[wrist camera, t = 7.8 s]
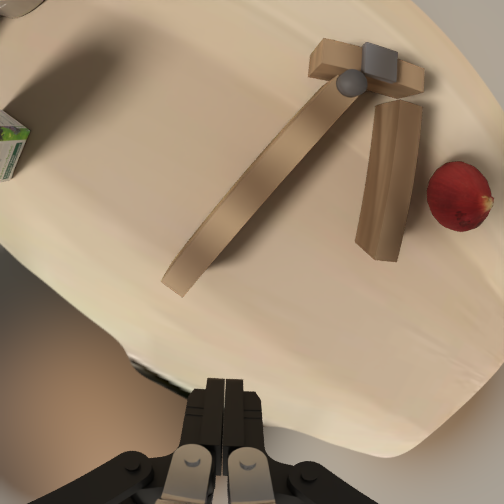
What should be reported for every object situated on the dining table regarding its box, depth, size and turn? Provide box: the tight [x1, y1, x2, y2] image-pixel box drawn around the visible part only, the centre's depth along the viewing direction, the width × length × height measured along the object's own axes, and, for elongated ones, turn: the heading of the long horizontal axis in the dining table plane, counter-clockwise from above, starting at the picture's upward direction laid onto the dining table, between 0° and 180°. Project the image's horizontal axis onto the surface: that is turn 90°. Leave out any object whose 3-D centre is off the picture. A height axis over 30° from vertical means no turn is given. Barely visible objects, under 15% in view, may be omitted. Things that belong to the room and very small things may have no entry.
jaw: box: [161, 69, 368, 298], centre depth 21 cm, size 20×2×5 cm, turn 140°
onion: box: [427, 161, 494, 232], centre depth 21 cm, size 6×6×8 cm
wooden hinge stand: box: [308, 38, 424, 262], centre depth 21 cm, size 8×15×5 cm, turn 174°
